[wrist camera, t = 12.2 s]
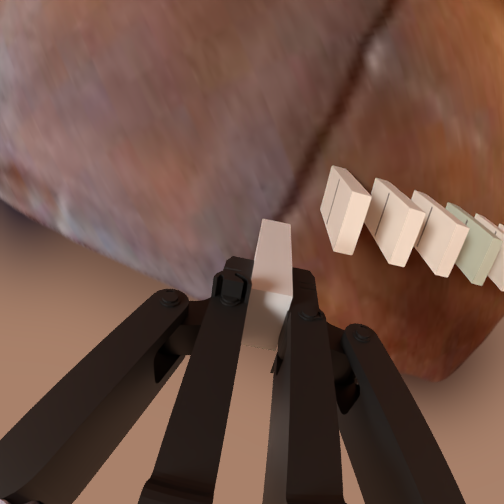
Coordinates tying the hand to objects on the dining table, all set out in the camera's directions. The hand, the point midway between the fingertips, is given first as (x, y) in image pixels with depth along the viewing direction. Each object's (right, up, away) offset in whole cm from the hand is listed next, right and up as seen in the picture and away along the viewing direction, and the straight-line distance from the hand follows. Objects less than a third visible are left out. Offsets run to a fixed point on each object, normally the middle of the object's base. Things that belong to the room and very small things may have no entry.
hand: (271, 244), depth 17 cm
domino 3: (+17, +4, +14) cm, 23 cm away
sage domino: (+22, +3, +14) cm, 27 cm away
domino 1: (+8, +6, +14) cm, 18 cm away
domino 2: (+12, +5, +14) cm, 20 cm away
